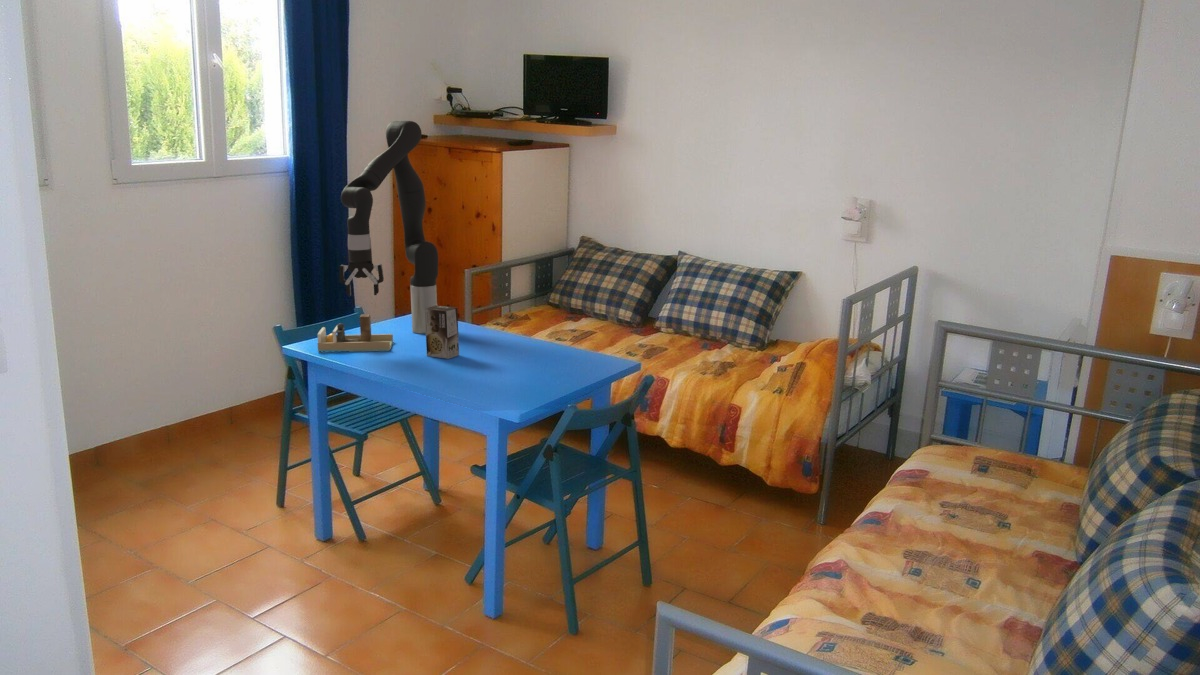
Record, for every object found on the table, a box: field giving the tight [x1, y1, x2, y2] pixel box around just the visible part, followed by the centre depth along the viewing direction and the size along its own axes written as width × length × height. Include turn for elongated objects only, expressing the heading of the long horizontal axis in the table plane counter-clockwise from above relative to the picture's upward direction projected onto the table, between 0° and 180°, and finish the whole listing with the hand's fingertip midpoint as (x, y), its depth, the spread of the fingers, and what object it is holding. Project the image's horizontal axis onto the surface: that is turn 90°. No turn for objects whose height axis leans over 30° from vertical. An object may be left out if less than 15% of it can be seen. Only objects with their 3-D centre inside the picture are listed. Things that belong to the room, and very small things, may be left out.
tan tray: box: [317, 333, 394, 352], centre depth 319 cm, size 24×12×3 cm, turn 97°
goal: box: [316, 325, 339, 344], centre depth 317 cm, size 6×10×6 cm, turn 7°
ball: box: [327, 332, 338, 343], centre depth 318 cm, size 4×4×4 cm
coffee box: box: [425, 304, 460, 360], centre depth 307 cm, size 9×6×16 cm
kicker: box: [336, 313, 372, 342], centre depth 318 cm, size 11×6×10 cm, turn 97°
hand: (362, 295), depth 315 cm, fingers open, 8 cm apart
